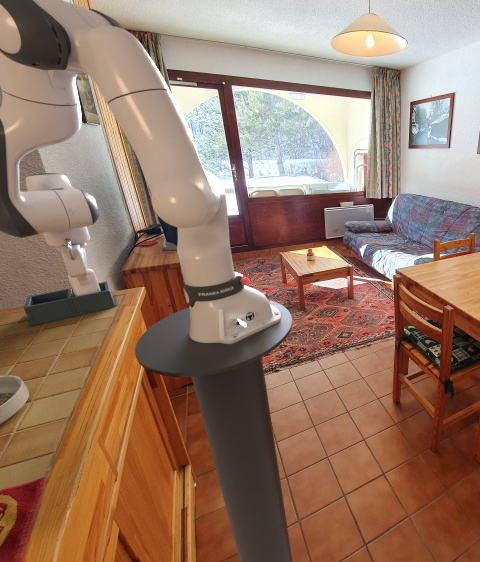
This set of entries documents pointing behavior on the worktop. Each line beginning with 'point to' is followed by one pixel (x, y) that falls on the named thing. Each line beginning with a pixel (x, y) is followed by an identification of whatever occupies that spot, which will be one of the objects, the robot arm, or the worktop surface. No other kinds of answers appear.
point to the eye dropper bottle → (87, 289)
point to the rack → (66, 304)
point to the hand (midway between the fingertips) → (84, 282)
